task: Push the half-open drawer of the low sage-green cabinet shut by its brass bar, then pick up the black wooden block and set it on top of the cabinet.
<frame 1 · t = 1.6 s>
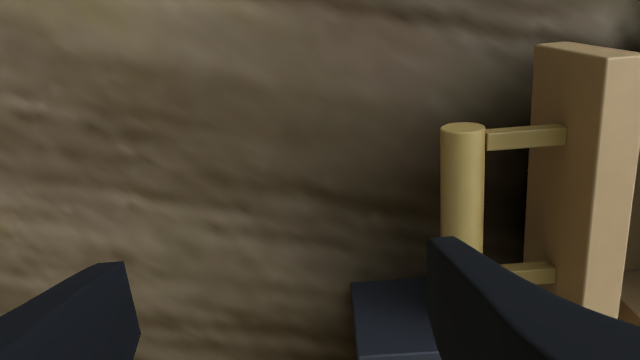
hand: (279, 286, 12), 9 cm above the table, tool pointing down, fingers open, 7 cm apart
block: (409, 326, 23), on the table
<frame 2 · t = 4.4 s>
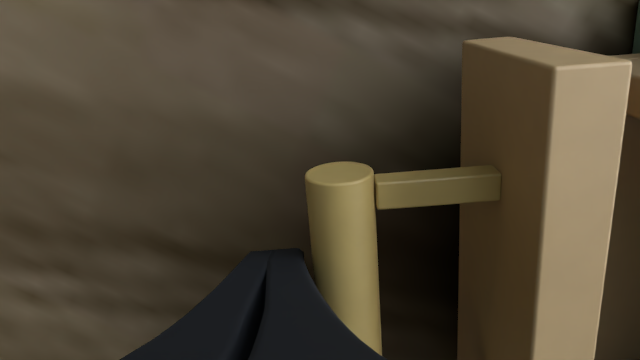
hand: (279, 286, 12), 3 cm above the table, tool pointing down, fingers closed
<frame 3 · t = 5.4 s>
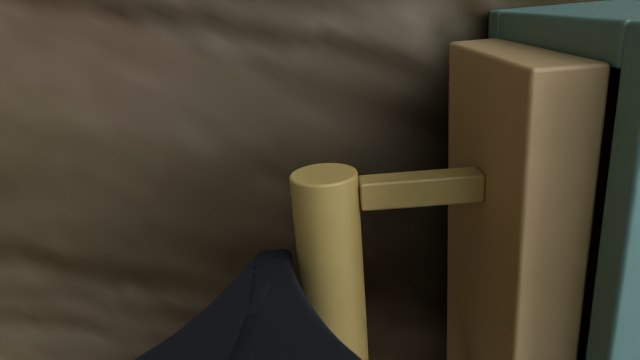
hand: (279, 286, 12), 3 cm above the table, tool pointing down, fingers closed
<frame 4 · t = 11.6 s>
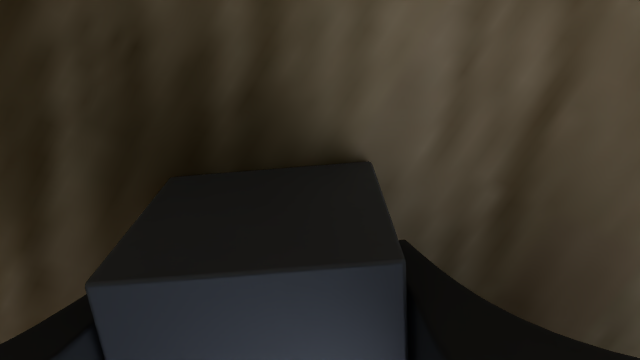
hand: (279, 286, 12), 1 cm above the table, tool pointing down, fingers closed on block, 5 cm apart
block: (281, 258, 13), on the table, touching gripper
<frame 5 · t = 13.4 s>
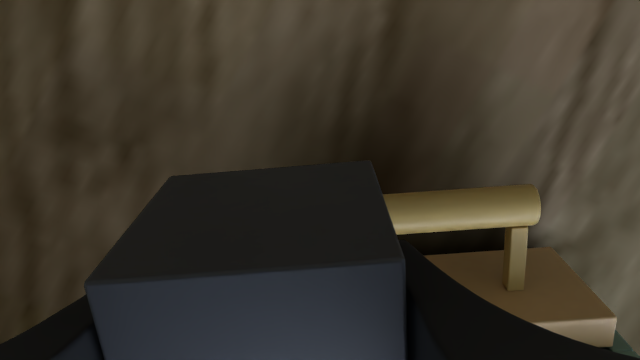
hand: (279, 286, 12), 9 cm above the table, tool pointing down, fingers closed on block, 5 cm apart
block: (280, 257, 13), point 8 cm above the table, touching gripper
when the fingers open (8 cm above the table, at t = 15.5 s): block stays where it is, resting on cabinet.
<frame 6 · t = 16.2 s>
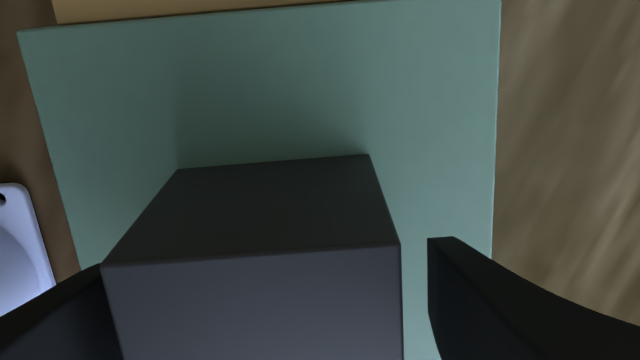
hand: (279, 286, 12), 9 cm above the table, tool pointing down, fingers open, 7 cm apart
drawer: (279, 109, 16), point 3 cm above the table, slide at 0.0 cm, touching cabinet
cabinet: (294, 182, 20), on the table
block: (282, 247, 14), point 7 cm above the table, touching cabinet
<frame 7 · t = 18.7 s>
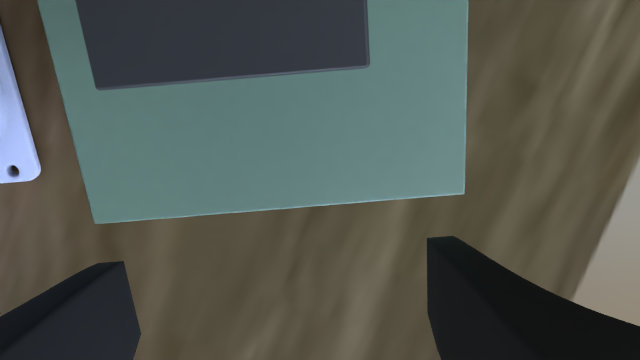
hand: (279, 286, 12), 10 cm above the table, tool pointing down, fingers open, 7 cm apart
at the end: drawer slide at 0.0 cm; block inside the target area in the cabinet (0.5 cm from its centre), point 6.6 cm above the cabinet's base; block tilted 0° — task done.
